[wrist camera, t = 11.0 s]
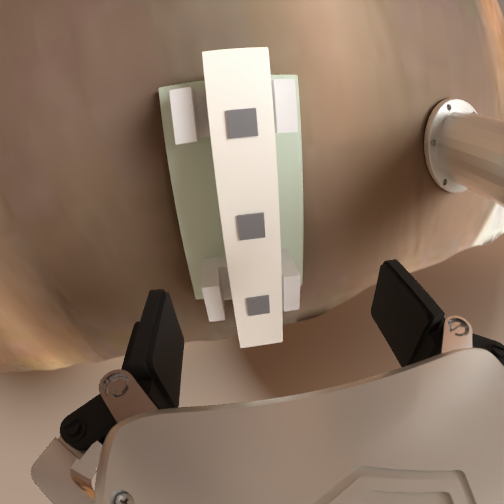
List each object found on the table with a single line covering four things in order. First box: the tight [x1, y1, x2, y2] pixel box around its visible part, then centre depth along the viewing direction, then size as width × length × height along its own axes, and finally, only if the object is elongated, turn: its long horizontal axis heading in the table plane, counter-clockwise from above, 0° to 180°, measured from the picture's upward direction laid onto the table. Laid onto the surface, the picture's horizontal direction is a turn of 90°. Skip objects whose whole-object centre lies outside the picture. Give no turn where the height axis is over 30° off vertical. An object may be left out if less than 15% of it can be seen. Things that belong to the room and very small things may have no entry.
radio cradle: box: [159, 75, 303, 322], centre depth 24 cm, size 12×22×6 cm, turn 5°
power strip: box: [202, 47, 283, 348], centre depth 21 cm, size 4×24×5 cm, turn 5°
